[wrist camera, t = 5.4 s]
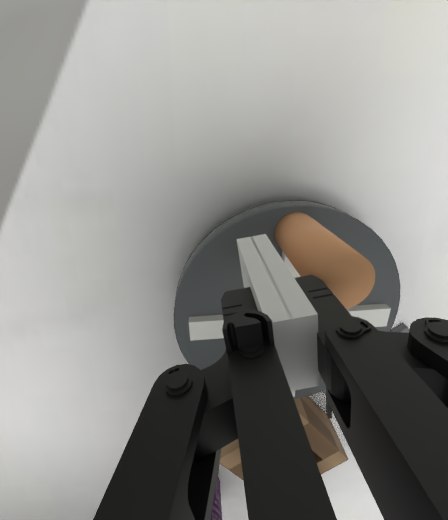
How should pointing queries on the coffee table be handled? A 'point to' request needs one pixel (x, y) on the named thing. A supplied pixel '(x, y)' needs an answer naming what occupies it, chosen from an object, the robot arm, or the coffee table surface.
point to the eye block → (318, 435)
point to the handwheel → (299, 264)
